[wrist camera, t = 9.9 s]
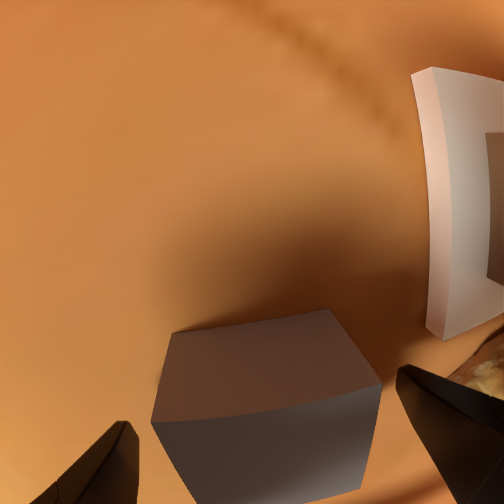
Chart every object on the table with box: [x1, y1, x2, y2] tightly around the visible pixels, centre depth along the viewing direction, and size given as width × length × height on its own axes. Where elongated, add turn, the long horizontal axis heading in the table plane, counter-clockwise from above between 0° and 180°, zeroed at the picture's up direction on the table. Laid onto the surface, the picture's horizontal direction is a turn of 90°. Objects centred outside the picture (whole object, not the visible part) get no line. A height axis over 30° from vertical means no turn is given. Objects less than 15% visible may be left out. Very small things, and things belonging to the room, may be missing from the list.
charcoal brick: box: [151, 308, 383, 504], centre depth 8 cm, size 5×5×4 cm
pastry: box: [447, 332, 504, 400], centre depth 10 cm, size 9×7×4 cm
